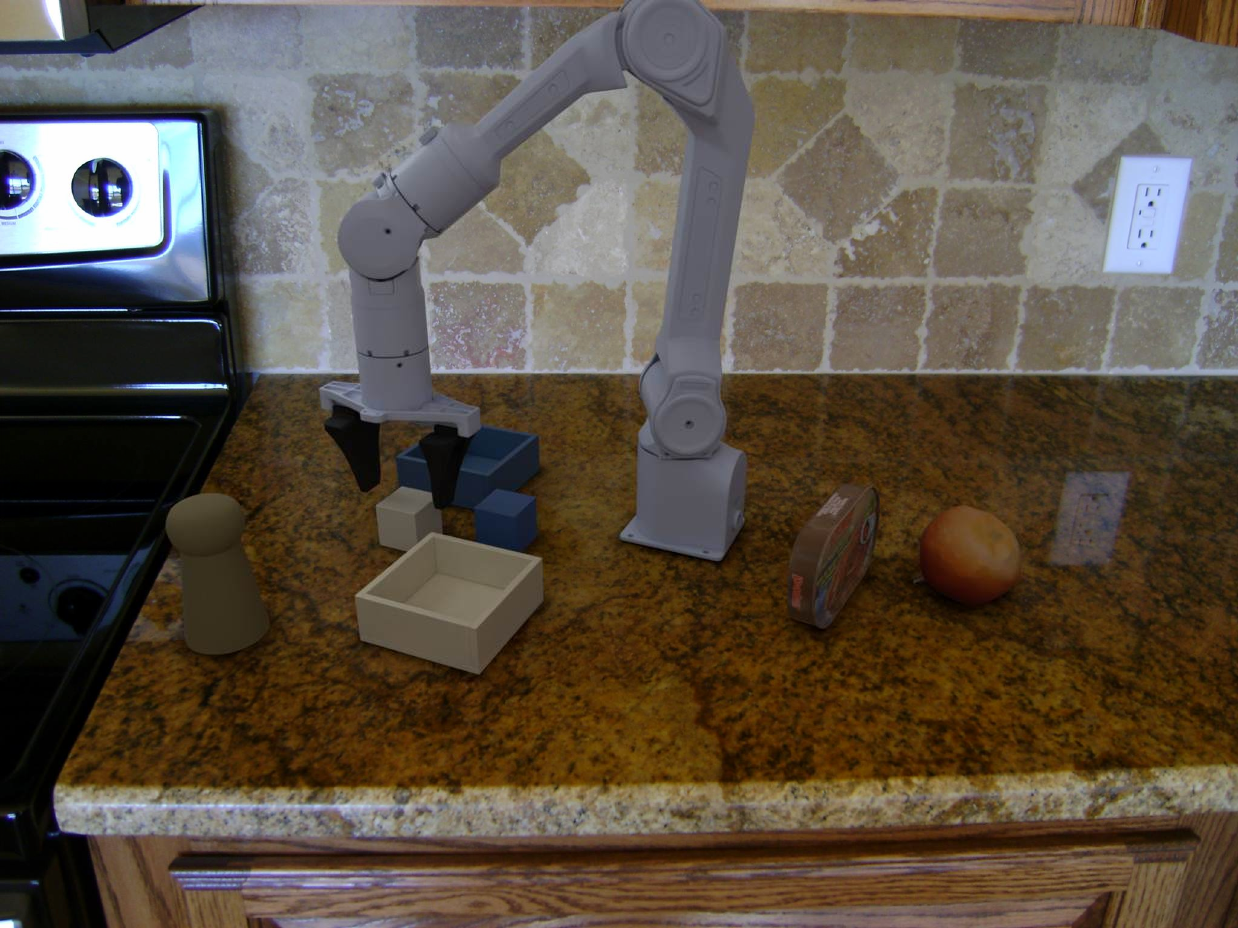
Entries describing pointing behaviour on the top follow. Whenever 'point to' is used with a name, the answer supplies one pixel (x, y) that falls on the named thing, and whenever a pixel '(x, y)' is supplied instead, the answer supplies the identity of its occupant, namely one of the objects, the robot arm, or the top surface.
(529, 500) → the blue block
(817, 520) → the tin
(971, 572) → the fruit
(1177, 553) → the top surface
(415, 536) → the cream block
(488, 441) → the blue bin
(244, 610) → the cork
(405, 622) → the cream bin
